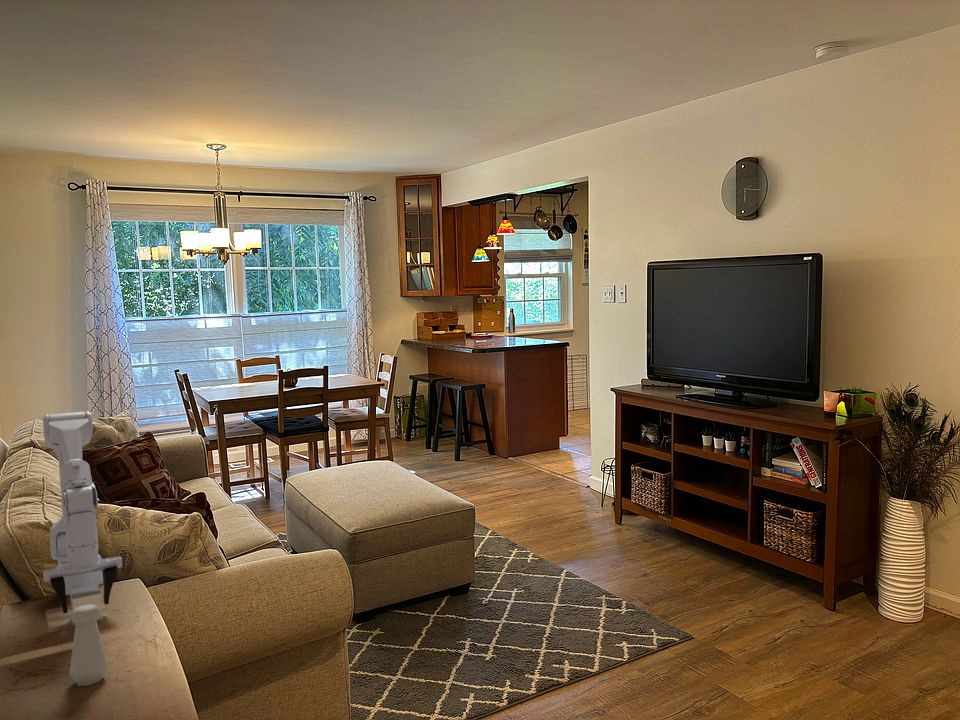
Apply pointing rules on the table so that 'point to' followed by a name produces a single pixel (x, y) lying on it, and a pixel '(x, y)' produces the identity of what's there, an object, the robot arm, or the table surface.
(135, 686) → the table surface
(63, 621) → the stand
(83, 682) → the salt shaker
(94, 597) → the matte gray cube
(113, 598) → the table surface
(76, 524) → the robot arm
